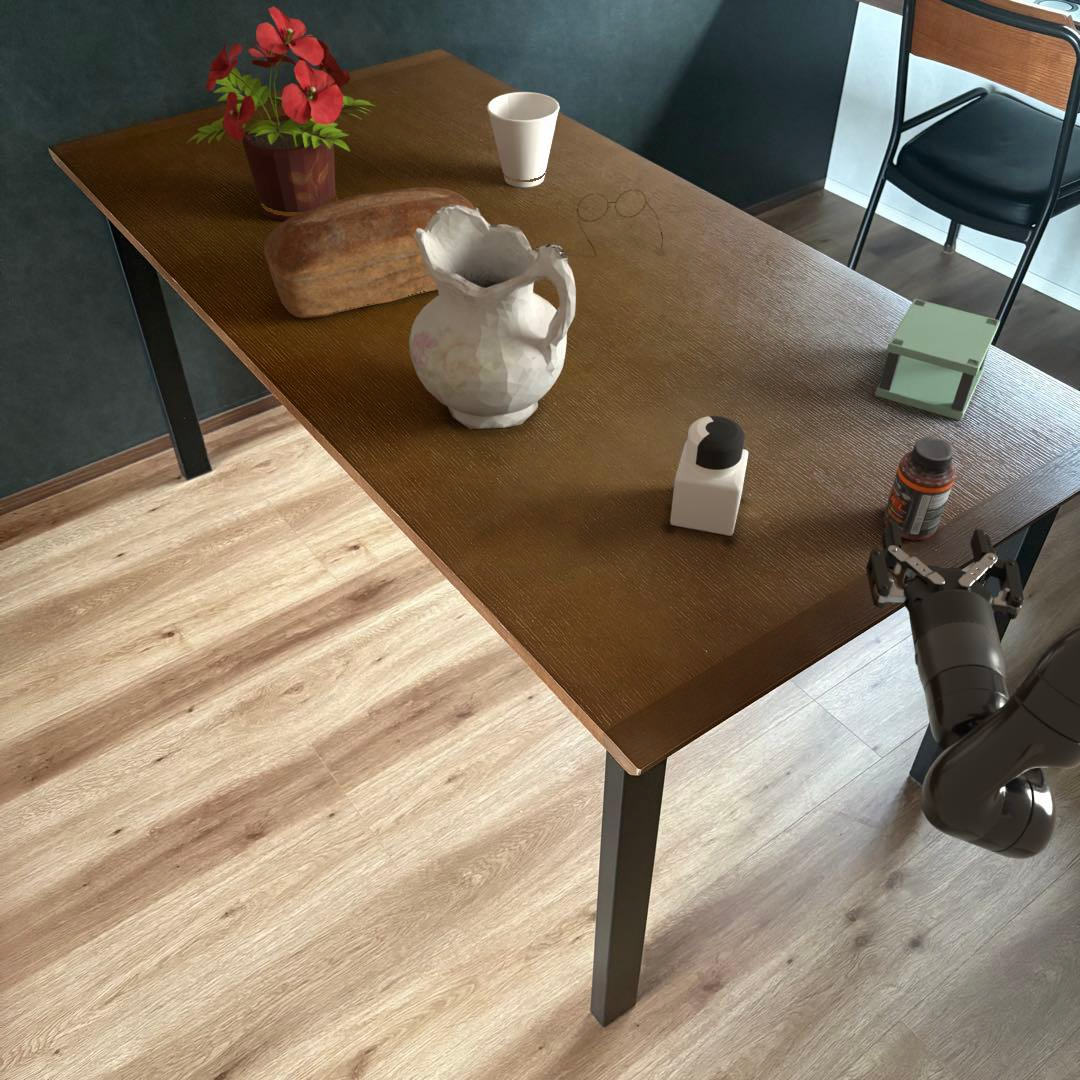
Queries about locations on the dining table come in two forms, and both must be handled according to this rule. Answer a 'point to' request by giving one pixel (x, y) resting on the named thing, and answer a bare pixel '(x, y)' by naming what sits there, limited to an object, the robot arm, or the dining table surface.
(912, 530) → the supplement bottle
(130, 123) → the dining table surface
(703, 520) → the medicine bottle
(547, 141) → the cup
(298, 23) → the potted plant
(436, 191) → the bread
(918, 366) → the shelf rack
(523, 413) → the ceramic pitcher
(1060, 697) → the robot arm
